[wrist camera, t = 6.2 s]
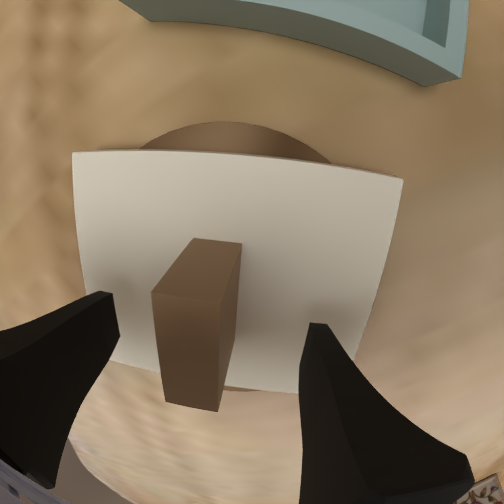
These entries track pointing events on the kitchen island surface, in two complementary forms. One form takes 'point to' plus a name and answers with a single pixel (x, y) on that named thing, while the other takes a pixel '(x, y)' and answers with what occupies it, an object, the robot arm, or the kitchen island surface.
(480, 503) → the decorative jar
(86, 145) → the kitchen island surface
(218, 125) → the trivet
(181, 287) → the lid
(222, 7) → the blue-grey open tray
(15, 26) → the kitchen island surface
